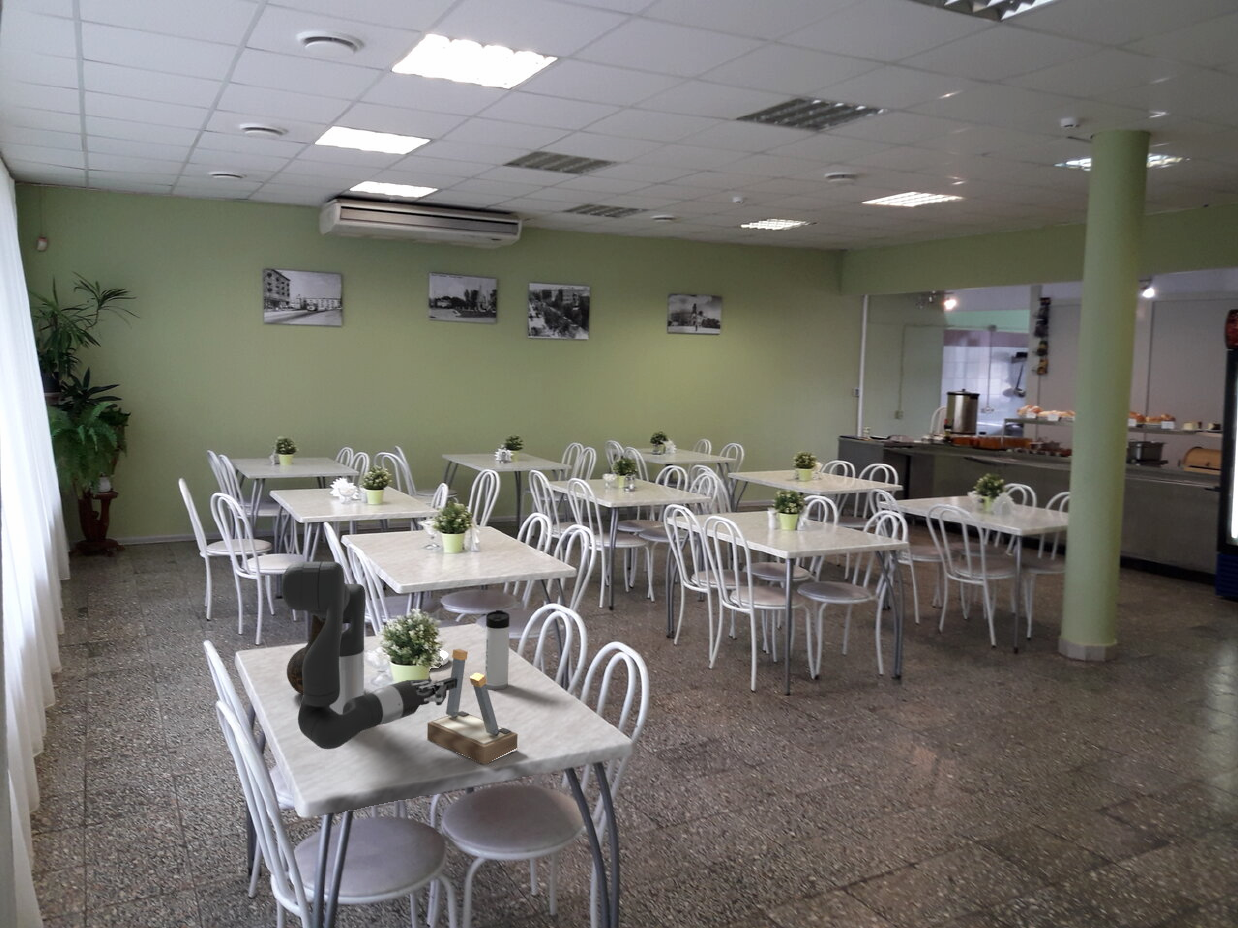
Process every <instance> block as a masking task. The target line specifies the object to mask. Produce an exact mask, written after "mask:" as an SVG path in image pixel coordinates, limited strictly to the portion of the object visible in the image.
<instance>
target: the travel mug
mask: <svg viewBox="0 0 1238 928" xmlns="http://www.w3.org/2000/svg"><path fill="white" fill-rule="evenodd" d="M485 617H486V618H485V622H486V623H485V639H484V640H485V641H484V642H485V645H484V646H485V647H484V648H485V649H484V650H485V651H484V675H485V678H486V681H487V683H486V686H487V690H492V691H493V690H494V691H497V690H498V691H499V689H500V690H503V688H504V689H507V687H508V686H509V660H510V659H509V658H510V657H509V656H510V614H509V612H506V611H503V609H496V610H495V611H490V612H488V613H487V614H486V616H485Z"/></svg>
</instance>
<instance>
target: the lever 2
mask: <svg viewBox="0 0 1238 928" xmlns="http://www.w3.org/2000/svg"><path fill="white" fill-rule="evenodd" d="M469 681H470V684H471V686H473V690H474V692H475V697H476V700H477V705H478V706H479V710H480V714H481V717H482V718H481V719H482V720H483V721H484V725H485V728H486V732H487V733H489V734H492V735H495V736H498V735H499V728H498V726H499V725H498V722H497V717H496V715H495V710H494V708H493V705H492V704H493V703H492V701H491V697H490V693H489V689H488V688H487V686H486V683H487V681H486V678H485V674H482V673H478V672H475V673H473V674H472V675H470V677H469Z"/></svg>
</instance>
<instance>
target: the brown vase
mask: <svg viewBox="0 0 1238 928" xmlns="http://www.w3.org/2000/svg"><path fill="white" fill-rule="evenodd" d="M311 616H312V617H311V623H310V624H311V625H310V631H309V637H308V641H307V643H306V645H305V646H304V647H302V648H299V650H297V651H296V652H294V654H293V655H292V656H291V657H290V659H289V661H288V663H287V667H286V677H287V680H288V682H289V684H290V685H291V687H292V688H293V689H294V690H295V692H297V694H300V695H301V696H303V679H302V666H303V661H304V658H305V656H306V654H307V652H308V650H309V649H310V647H311V645H312V644H313V643H314V641H315V640H316V638H317V637H318V635H319V634H320V632H321V630H322V628H323V626H324V624H325V623H324V622H322V621H321V620H320V619H319V618H318V616H315V615H313V614H311Z"/></svg>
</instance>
